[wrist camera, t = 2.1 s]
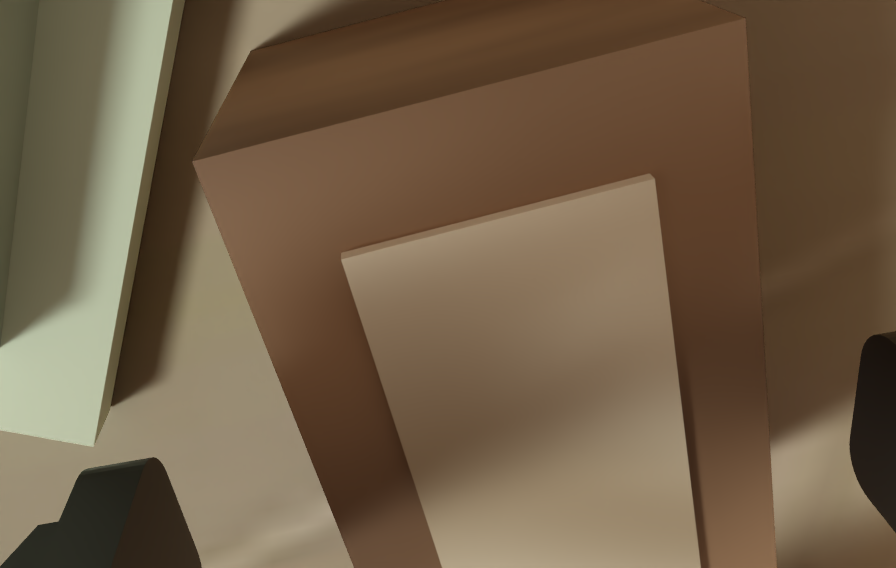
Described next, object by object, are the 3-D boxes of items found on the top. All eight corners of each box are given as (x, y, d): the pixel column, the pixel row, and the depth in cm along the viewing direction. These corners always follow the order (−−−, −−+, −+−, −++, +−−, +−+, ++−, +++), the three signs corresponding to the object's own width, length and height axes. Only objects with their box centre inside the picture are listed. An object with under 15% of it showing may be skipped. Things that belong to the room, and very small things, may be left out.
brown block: (666, 486, 16) (790, 728, 12) (421, 547, 16) (449, 813, 12) (594, -41, 12) (753, 21, 7) (251, 48, 12) (189, 166, 7)
